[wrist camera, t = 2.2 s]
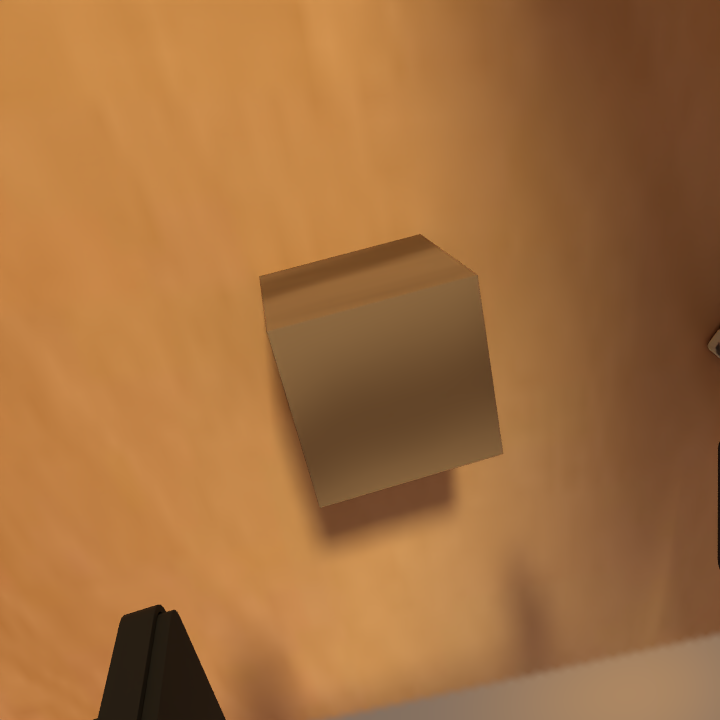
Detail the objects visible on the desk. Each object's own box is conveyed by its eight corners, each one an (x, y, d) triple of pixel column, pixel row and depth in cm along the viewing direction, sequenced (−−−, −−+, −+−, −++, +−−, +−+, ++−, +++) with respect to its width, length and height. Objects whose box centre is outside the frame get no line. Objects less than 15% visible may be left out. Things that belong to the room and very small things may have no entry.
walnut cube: (259, 275, 19) (266, 331, 14) (419, 233, 19) (477, 274, 14) (301, 418, 21) (319, 508, 16) (445, 378, 21) (503, 454, 16)
